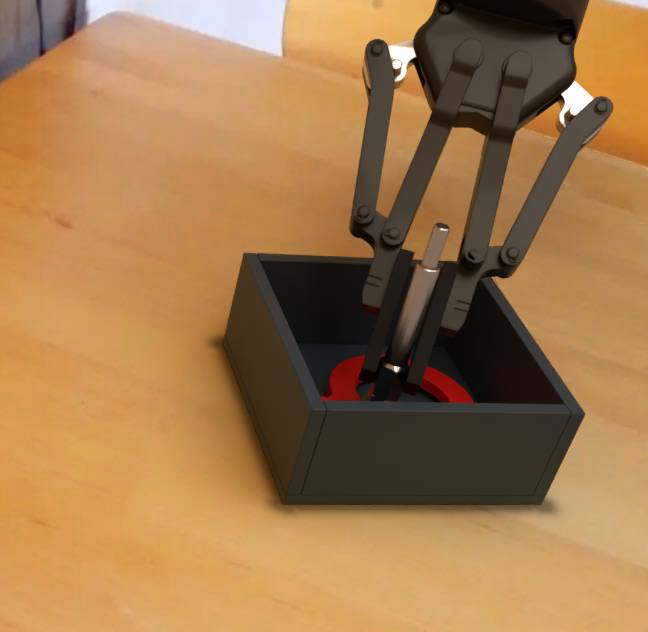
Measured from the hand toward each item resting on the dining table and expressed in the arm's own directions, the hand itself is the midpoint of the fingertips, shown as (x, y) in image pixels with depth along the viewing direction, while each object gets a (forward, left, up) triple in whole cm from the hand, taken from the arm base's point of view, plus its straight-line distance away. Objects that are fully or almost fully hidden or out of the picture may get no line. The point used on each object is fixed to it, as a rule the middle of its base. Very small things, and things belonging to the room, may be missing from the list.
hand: (388, 381), depth 65 cm
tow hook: (-3, -3, -4) cm, 6 cm away
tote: (-2, -3, -5) cm, 6 cm away
